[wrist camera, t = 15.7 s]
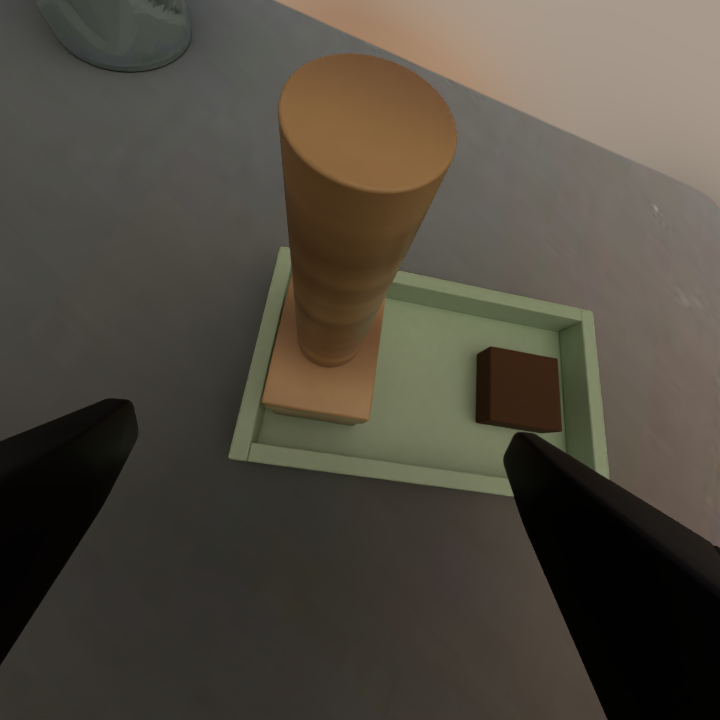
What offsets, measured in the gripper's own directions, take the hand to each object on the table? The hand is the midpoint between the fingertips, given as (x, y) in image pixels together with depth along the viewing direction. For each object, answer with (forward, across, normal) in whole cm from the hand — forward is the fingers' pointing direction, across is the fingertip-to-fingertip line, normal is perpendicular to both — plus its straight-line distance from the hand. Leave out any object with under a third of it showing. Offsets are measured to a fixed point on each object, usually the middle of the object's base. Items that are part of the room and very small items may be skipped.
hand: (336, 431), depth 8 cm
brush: (+9, 0, +3) cm, 9 cm away
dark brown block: (+8, -10, +4) cm, 14 cm away
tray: (+9, -5, +4) cm, 11 cm away
